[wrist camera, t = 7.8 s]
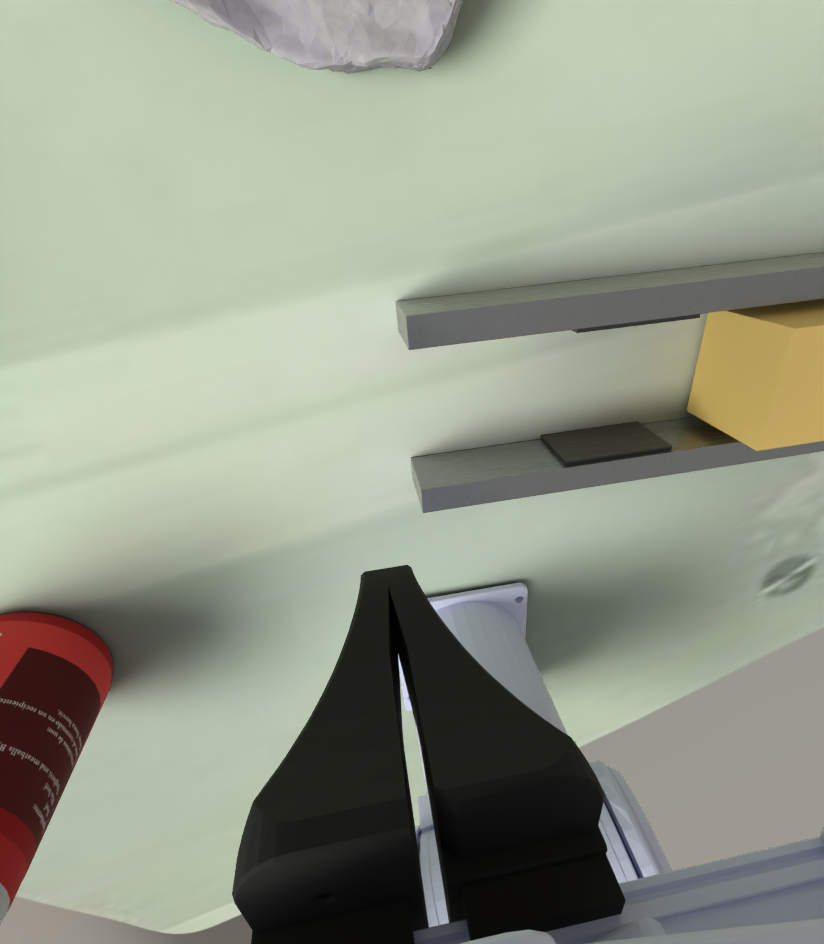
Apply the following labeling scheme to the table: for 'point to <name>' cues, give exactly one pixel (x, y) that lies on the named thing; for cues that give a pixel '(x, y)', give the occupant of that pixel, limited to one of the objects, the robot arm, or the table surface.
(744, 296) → the chute
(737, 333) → the block
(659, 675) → the table surface
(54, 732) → the canned food
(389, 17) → the stone block
